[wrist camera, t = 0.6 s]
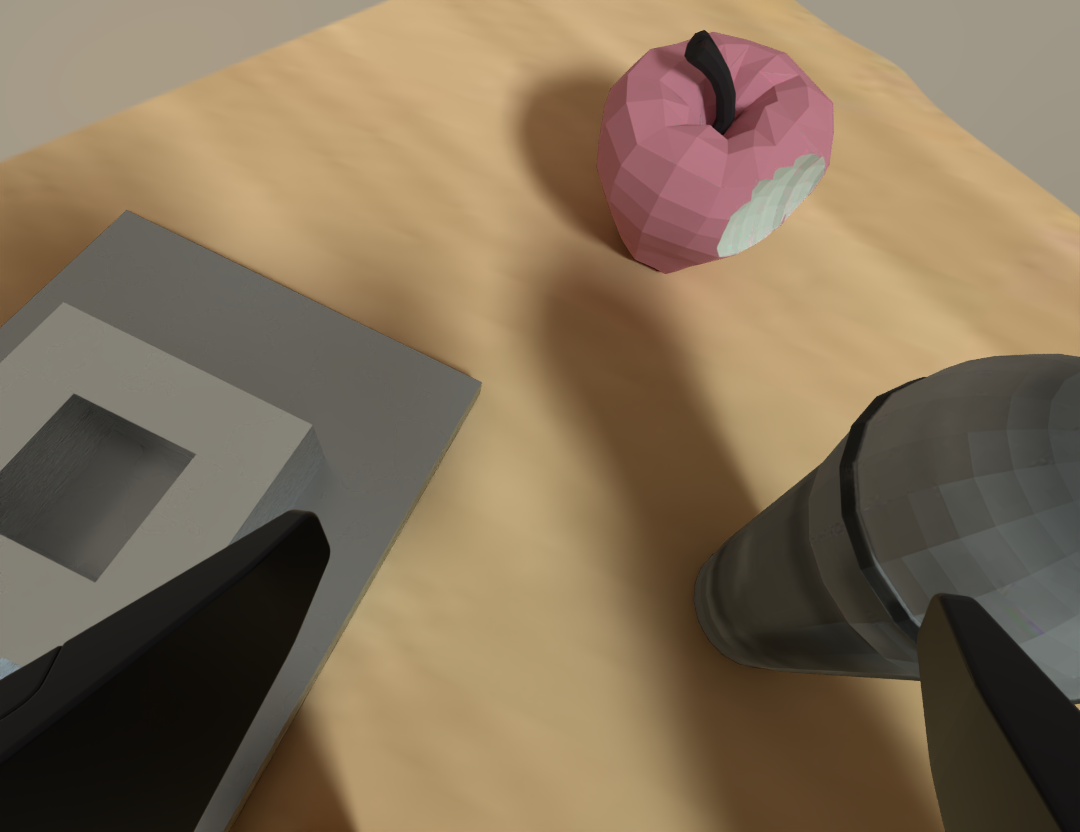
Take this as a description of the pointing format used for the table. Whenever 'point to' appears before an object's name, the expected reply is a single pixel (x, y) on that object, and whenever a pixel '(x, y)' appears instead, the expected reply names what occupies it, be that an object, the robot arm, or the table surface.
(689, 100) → the apple
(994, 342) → the table surface
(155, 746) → the robot arm
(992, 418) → the beverage cup
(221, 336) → the gray tray
